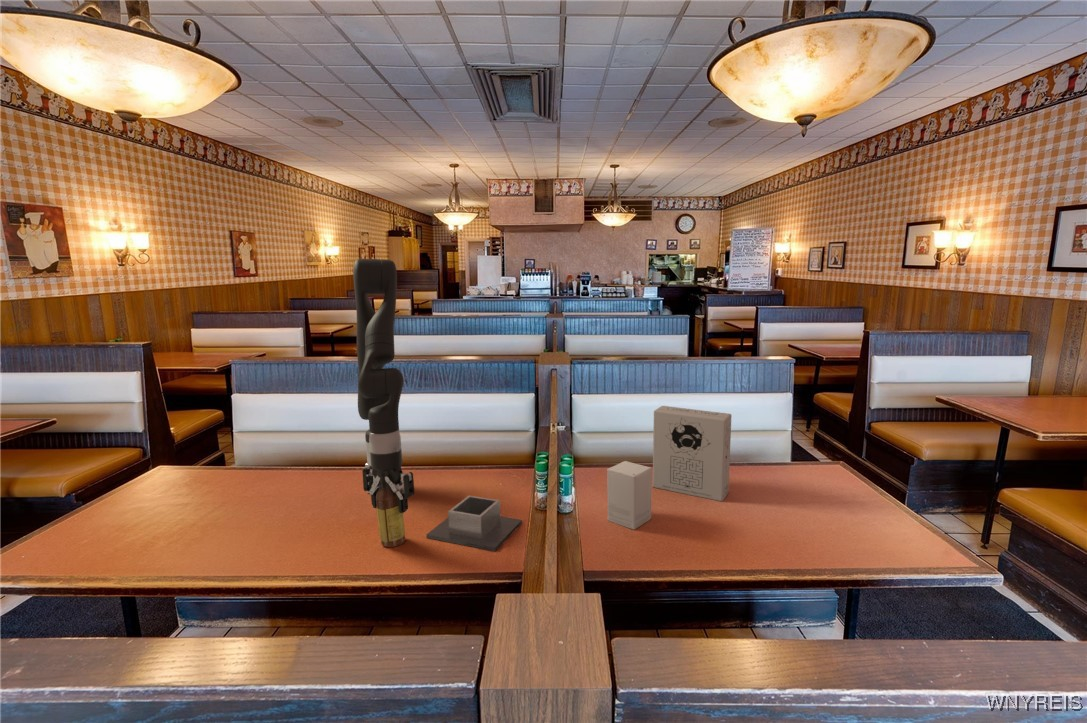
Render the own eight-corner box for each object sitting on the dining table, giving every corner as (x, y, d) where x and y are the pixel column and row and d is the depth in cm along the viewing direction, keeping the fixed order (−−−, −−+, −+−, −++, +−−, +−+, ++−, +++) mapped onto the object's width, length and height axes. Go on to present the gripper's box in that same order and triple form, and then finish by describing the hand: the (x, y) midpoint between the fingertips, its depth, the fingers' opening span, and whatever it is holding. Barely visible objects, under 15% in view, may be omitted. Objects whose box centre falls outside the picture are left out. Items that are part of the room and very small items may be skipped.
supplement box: (652, 519, 147) (653, 467, 144) (634, 530, 140) (634, 476, 138) (624, 509, 153) (625, 459, 151) (606, 520, 147) (606, 468, 144)
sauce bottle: (409, 536, 140) (404, 464, 136) (400, 549, 133) (395, 473, 130) (384, 536, 140) (379, 464, 137) (375, 548, 134) (369, 473, 131)
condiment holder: (426, 537, 139) (425, 512, 138) (458, 512, 153) (457, 489, 152) (495, 551, 131) (494, 525, 130) (522, 523, 146) (521, 499, 145)
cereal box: (728, 492, 163) (731, 413, 159) (722, 502, 157) (725, 419, 153) (660, 479, 175) (662, 405, 170) (652, 487, 168) (653, 410, 164)
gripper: (352, 449, 132) (357, 511, 135) (400, 455, 127) (404, 520, 129) (372, 440, 139) (377, 499, 141) (418, 446, 133) (422, 507, 136)
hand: (390, 509), depth 135 cm, fingers open, 7 cm apart
